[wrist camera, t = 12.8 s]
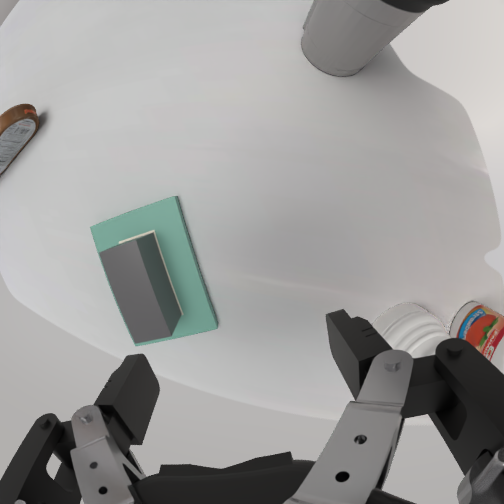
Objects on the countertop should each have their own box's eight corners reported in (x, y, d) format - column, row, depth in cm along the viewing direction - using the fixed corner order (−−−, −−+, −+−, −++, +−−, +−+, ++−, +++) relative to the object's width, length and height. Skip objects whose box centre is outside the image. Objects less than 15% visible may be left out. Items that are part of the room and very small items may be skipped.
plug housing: (120, 243, 31) (98, 252, 26) (153, 232, 31) (135, 240, 26) (149, 321, 34) (135, 343, 28) (181, 313, 33) (171, 336, 28)
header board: (95, 225, 32) (76, 230, 27) (177, 196, 32) (166, 196, 27) (138, 341, 36) (127, 359, 31) (218, 323, 36) (215, 342, 31)
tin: (45, 108, 28) (11, 96, 20) (50, 122, 29) (15, 111, 21) (-7, 171, 29) (-40, 171, 21) (-3, 185, 30) (-37, 187, 22)
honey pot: (439, 311, 38) (511, 360, 20) (405, 376, 40) (458, 440, 22) (385, 293, 36) (465, 353, 19) (347, 368, 38) (397, 451, 21)
